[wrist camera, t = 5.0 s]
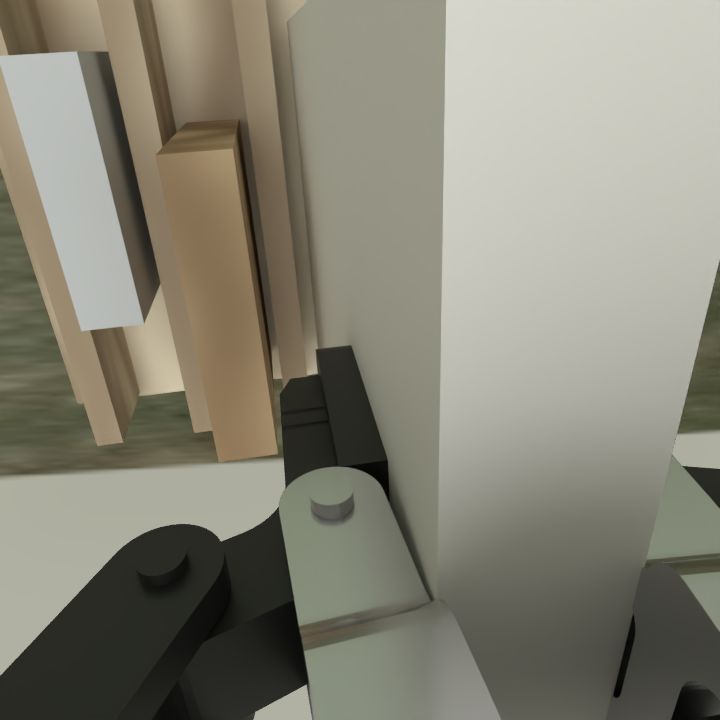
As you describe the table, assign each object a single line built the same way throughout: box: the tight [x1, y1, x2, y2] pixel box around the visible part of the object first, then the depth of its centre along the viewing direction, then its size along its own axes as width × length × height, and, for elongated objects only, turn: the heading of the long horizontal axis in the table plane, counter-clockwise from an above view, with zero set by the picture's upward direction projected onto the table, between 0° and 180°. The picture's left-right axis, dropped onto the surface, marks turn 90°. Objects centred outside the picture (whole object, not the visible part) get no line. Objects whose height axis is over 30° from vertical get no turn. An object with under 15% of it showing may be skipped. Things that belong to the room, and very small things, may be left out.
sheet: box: [287, 0, 720, 720], centre depth 14 cm, size 2×13×18 cm, turn 3°
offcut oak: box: [155, 119, 278, 462], centre depth 21 cm, size 2×10×8 cm, turn 3°
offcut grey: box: [0, 51, 160, 331], centre depth 20 cm, size 2×8×6 cm, turn 3°
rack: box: [0, 0, 318, 446], centre depth 23 cm, size 16×16×5 cm
